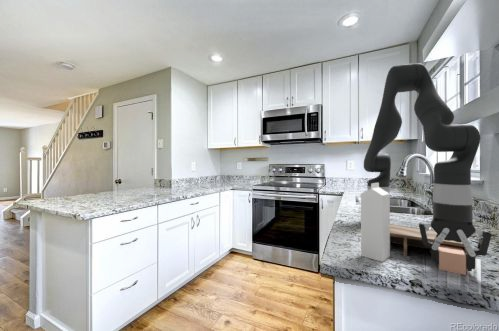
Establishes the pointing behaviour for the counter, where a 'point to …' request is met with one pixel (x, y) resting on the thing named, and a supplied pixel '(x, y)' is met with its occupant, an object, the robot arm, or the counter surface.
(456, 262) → the block
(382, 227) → the milk
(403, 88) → the robot arm
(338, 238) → the counter surface
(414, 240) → the wooden bench
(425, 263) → the counter surface
